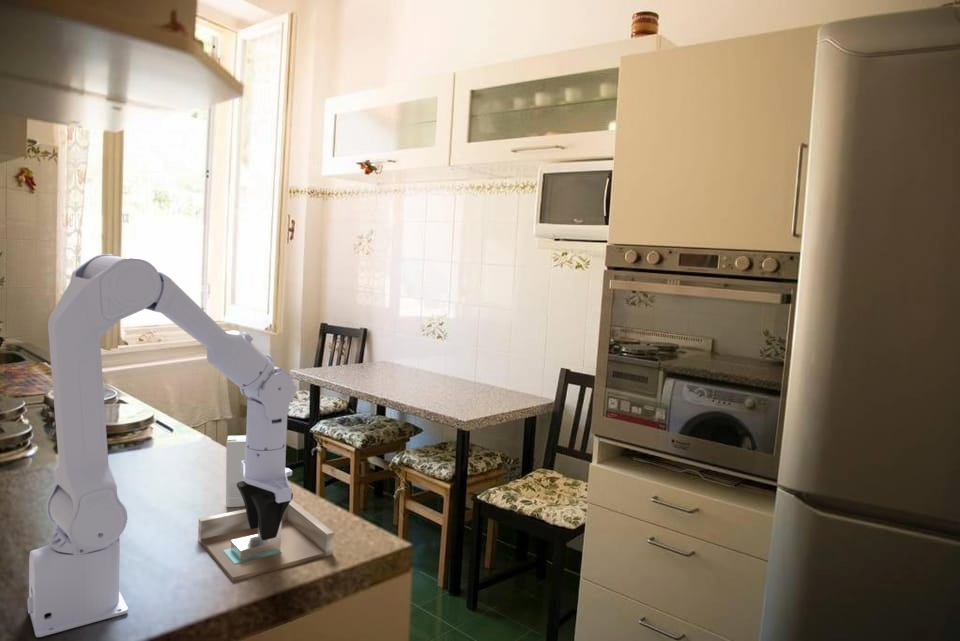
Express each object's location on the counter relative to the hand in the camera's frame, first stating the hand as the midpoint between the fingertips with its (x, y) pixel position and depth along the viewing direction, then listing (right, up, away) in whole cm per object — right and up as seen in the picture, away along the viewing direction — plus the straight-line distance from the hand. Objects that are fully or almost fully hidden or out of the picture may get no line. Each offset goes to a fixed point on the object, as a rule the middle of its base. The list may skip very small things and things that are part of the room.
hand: (262, 532), depth 97 cm
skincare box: (-10, -1, +18) cm, 21 cm away
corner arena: (0, -3, +1) cm, 3 cm away
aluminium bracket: (-1, -3, 0) cm, 3 cm away
